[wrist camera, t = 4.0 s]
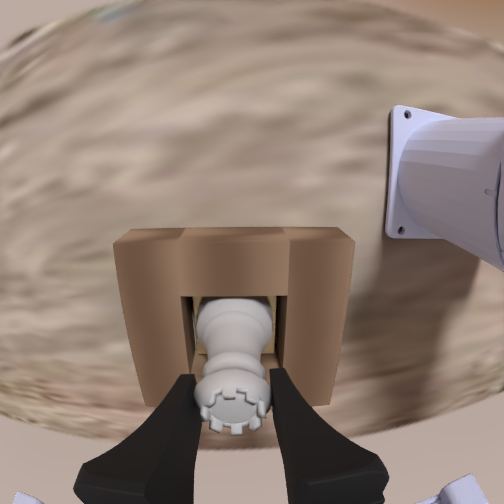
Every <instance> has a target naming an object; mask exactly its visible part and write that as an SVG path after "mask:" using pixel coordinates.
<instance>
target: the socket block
mask: <svg viewBox="0 0 504 504" xmlns="http://www.w3.org/2000/svg"><path fill="white" fill-rule="evenodd" d="M354 248H355V241H354V240H352V239H351V238H350V237H349V236H348V235H346V234H345V233H344V232H343V231H342V230H340V229H339V228H338V227H218V228H161V229H131V230H130V231H129V232H127V233H126V234H125V235H123V236H122V237H121V238H120V239H118V240H117V241H116V242H115V243H113V249H114V257H115V264H116V271H117V278H118V284H119V290H120V296H121V302H122V308H123V313H124V318H125V323H126V328H127V333H128V338H129V342H130V347H131V351H132V356H133V360H134V364H135V368H136V372H137V376H138V380H139V384H140V387H141V391H142V395H143V398H144V402H145V405H146V406H149V407H158V406H159V404H160V403H161V402H162V400H163V399H164V398H165V396H166V395H167V393H168V392H169V391H170V389H171V388H172V386H173V385H174V383H175V382H176V380H177V379H178V377H179V376H180V375H181V374H195V378H196V383H197V384H198V383H199V382H200V381H201V380H202V379H203V378H202V371H203V368H204V365H205V364H206V363H207V362H208V355H207V354H198V349H195V339H194V329H193V319H192V308H191V296H279V318H278V338H277V349H274V353H268V354H261V358H260V363H261V364H262V366H263V367H264V369H265V378H266V379H265V381H266V382H267V383H268V385H269V386H270V373H269V369H273V368H282V367H283V368H285V369H286V371H287V373H288V375H289V377H290V379H291V380H292V382H293V384H294V385H295V387H296V388H297V390H298V391H299V392H300V394H301V395H302V396H303V398H304V399H305V400H306V402H307V403H308V404H309V405H310V406H311V407H312V406H322V405H330V401H331V396H332V391H333V386H334V382H335V377H336V371H337V366H338V361H339V355H340V350H341V344H342V338H343V332H344V326H345V319H346V313H347V306H348V299H349V291H350V284H351V275H352V267H353V258H354ZM270 409H272V406H271V408H270Z"/></svg>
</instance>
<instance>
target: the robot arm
mask: <svg viewBox="0 0 504 504" xmlns="http://www.w3.org/2000/svg"><path fill="white" fill-rule="evenodd" d="M405 111H406V112H407V113H408V118H405V116H404V112H405ZM401 226H402V231H401V232H400V233H398V229H399V227H401ZM385 233H386V235H387V236H389V237H390V238H406V239H445V240H447V241H449V242H451V243H453V244H455V245H457V246H458V247H460V248H462V249H464V250H466V251H468V252H470V253H471V254H473V255H475V256H477V257H479V258H480V259H482V260H484V261H486V262H487V263H489V264H491V265H493V266H494V267H496V268H498V269H500V270H501V271H503V272H504V117H499V118H468V119H458V118H455V117H451V116H447V115H443V114H439V113H434V112H430V111H426V110H421V109H416V108H411V107H406V106H401V105H397V106H394V107H393V108H392V109H391V140H390V170H389V188H388V202H387V214H386V224H385ZM269 373H270V387H271V389H272V395H273V404H272V412H273V420H274V425H275V429H276V433H277V438H278V442H279V446H280V450H281V454H282V458H283V464H284V469H285V478H286V486H287V494H288V503H289V504H383V503H384V502H385V498H384V496H383V491H384V489H385V487H386V485H387V483H388V481H389V475H388V472H387V469H386V467H385V466H384V464H383V462H382V461H381V459H380V458H379V457H378V455H377V454H375V453H373V452H370V451H368V450H366V449H364V448H362V447H360V446H359V445H357V444H355V443H354V442H352V441H350V440H349V439H347V438H346V437H345V436H343V435H342V434H340V433H339V432H338V431H336V430H335V429H334V428H332V427H331V426H330V425H329V424H328V423H327V422H325V421H324V420H323V419H322V418H321V417H320V416H319V415H318V414H317V413H316V412H315V411H314V410H313V408H312V407H311V406H310V405H309V404H308V403H307V402H306V400H305V399H304V398H303V396H302V395H301V394H300V392H299V391H298V390H297V388H296V387H295V385H294V384H293V382H292V380H291V379H290V377H289V375H288V373H287V371H286V369H285V368H283V367H282V368H273V369H269ZM196 385H197V383H196V378H195V374H181V375H180V376H179V377H178V379H177V380H176V382H175V383H174V385H173V386H172V388H171V389H170V391H169V392H168V393H167V395H166V396H165V398H164V399H163V400H162V402H161V403H160V404H159V406H158V407H157V408H156V409H155V410H154V412H153V413H152V414H151V415H150V416H149V417H148V418H147V420H146V421H145V422H144V423H143V424H142V425H141V426H140V427H139V428H138V429H137V430H135V431H134V432H133V433H132V434H131V435H130V436H128V437H127V438H126V439H125V440H123V441H122V442H121V443H119V444H118V445H117V446H115V447H114V448H112V449H110V450H109V451H107V452H106V453H104V454H102V455H100V456H98V457H96V458H94V459H92V460H90V461H88V462H86V463H83V465H82V467H81V469H80V471H79V474H78V476H77V479H76V482H75V484H74V487H73V490H74V492H75V494H76V495H77V497H78V498H79V499H80V500H81V501H82V502H83V503H84V504H193V503H194V502H193V501H194V498H193V497H194V496H193V495H194V494H193V493H194V469H195V461H196V455H197V450H198V444H199V438H200V432H201V426H202V419H201V415H200V411H199V410H198V409H197V407H196V406H195V402H194V399H193V394H194V391H195V387H196ZM12 504H44V503H43V502H42V501H40V500H39V499H37V498H35V497H32V496H30V495H27V494H25V493H22V492H20V491H18V492H17V494H16V496H15V498H14V500H13V503H12ZM416 504H489V503H488V501H487V499H486V497H485V496H484V494H483V492H482V490H481V488H480V487H479V485H478V483H477V481H476V480H475V478H474V476H473V474H471V473H469V474H467V475H465V476H463V477H461V478H459V479H457V480H455V481H453V482H451V483H449V484H447V485H446V486H445V487H444V488H442V490H441V491H440V493H439V495H436V496H434V497H431V498H429V499H426V500H424V501H421V502H419V503H416Z"/></svg>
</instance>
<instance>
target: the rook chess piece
mask: <svg viewBox="0 0 504 504" xmlns="http://www.w3.org/2000/svg"><path fill="white" fill-rule="evenodd" d="M196 320H197V321H196V324H195V325H196V330H197V335H198V339H199V342H200V343H201V344H202V346H203V347H204V349H205V350H206V351H207V355H208V362H207V363H206V364H205V365H204V368H203V371H202V378H203V379H202V380H201V381H200V382H199V383H198V384H197V385H196V387H195V391H194V394H193V399H194V402H195V406H196V407H197V409H198V410H199V411H200V415H201V419H202V422H205V421H209V420H210V425H209V429H211V430H213V431H215V432H217V433H220V432H221V431H222V426H224V427H229V428H231V436H238V435H243V427H245V426H248V425H249V429H251V430H252V431H256V430H257V429H258V428H260V427H261V426H262V419H261V418H266V413H268V412H269V410H270V408H271V406H272V404H273V395H272V389H271V387H270V386H269V385H268V383H267V382H266V381H265V379H266V378H265V369H264V367H263V366H262V364H261V363H260V358H261V353H262V352H263V351H264V349H265V348H266V347H267V346H268V344H269V341H270V339H271V336H272V334H273V314H272V309H271V307H270V306H269V304H268V302H267V300H266V299H265V298H264V297H263V296H206V297H205V298H204V300H203V301H202V302H201V303H200V304H199V308H198V311H197V315H196Z"/></svg>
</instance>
